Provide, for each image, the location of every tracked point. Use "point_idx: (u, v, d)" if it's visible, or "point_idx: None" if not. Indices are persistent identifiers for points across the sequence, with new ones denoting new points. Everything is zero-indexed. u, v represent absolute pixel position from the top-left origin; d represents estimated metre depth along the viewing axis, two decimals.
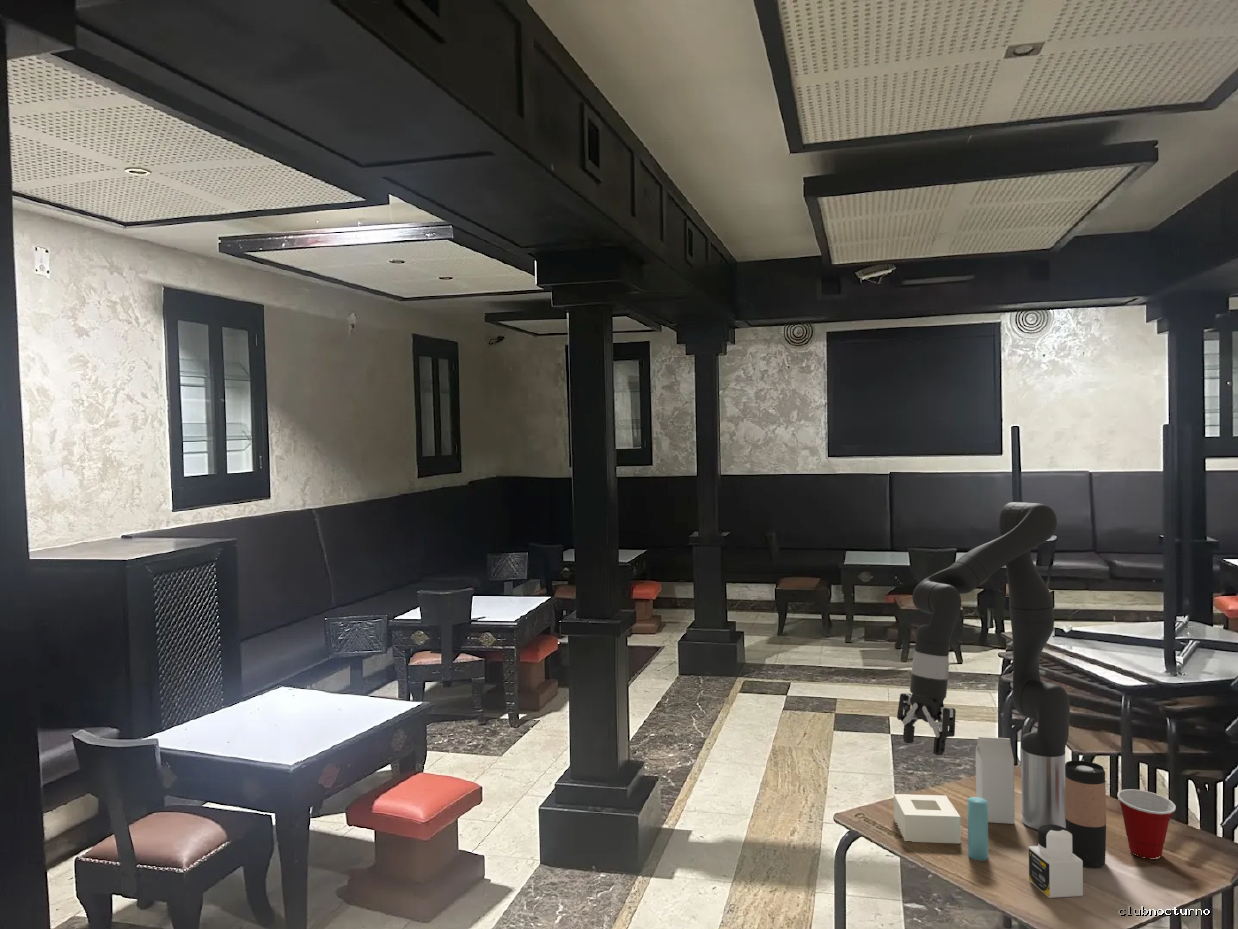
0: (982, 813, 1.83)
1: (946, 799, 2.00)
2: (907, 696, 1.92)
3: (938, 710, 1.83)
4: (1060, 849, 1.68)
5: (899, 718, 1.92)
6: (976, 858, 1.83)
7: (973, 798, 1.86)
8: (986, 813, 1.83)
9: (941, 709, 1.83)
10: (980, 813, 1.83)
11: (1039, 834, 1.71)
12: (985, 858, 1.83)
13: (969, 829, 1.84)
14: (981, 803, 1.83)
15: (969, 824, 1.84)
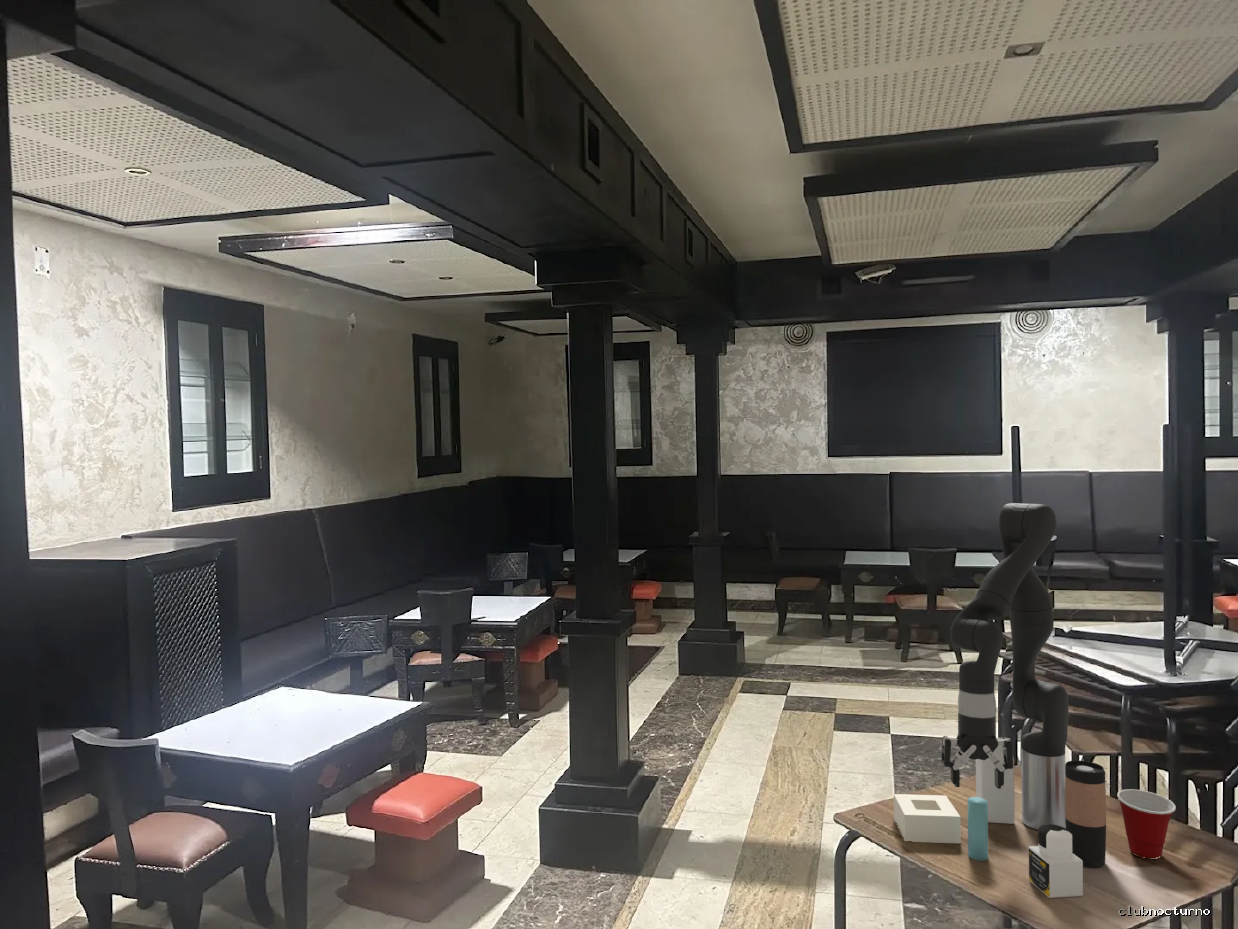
0: (982, 813, 1.83)
1: (946, 799, 2.00)
2: (951, 740, 1.85)
3: (997, 745, 1.83)
4: (1060, 849, 1.68)
5: (947, 765, 1.84)
6: (976, 858, 1.83)
7: (973, 798, 1.86)
8: (986, 813, 1.83)
9: (999, 743, 1.84)
10: (980, 813, 1.83)
11: (1039, 834, 1.71)
12: (985, 858, 1.83)
13: (969, 829, 1.84)
14: (981, 803, 1.83)
15: (969, 824, 1.84)
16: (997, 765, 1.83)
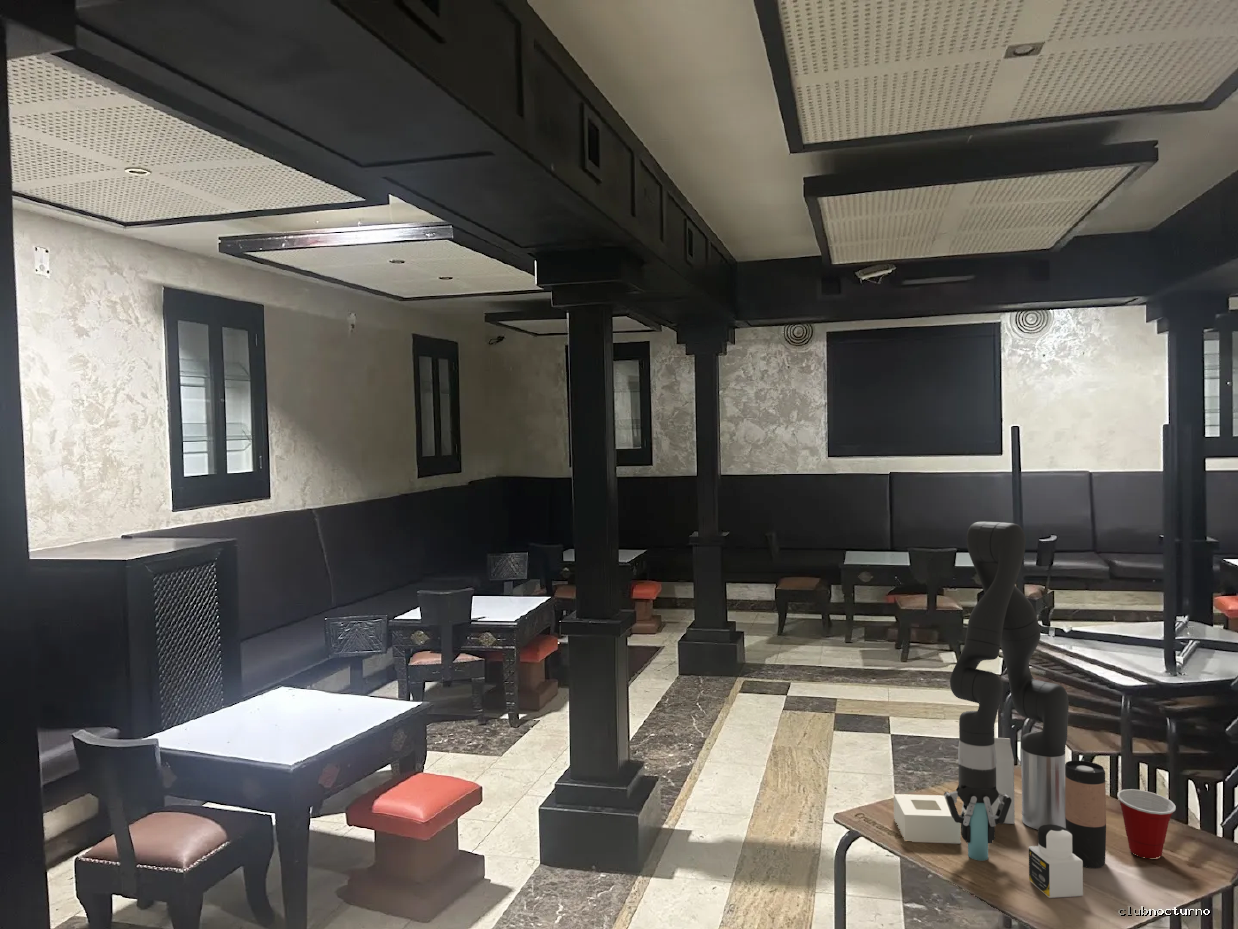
0: (982, 813, 1.83)
1: None
2: (952, 795, 1.85)
3: (997, 797, 1.83)
4: (1060, 849, 1.68)
5: (958, 821, 1.84)
6: (976, 858, 1.83)
7: None
8: (986, 813, 1.83)
9: (999, 796, 1.84)
10: (980, 813, 1.83)
11: (1039, 834, 1.71)
12: (985, 858, 1.83)
13: None
14: (981, 803, 1.83)
15: (969, 824, 1.84)
16: (990, 819, 1.83)
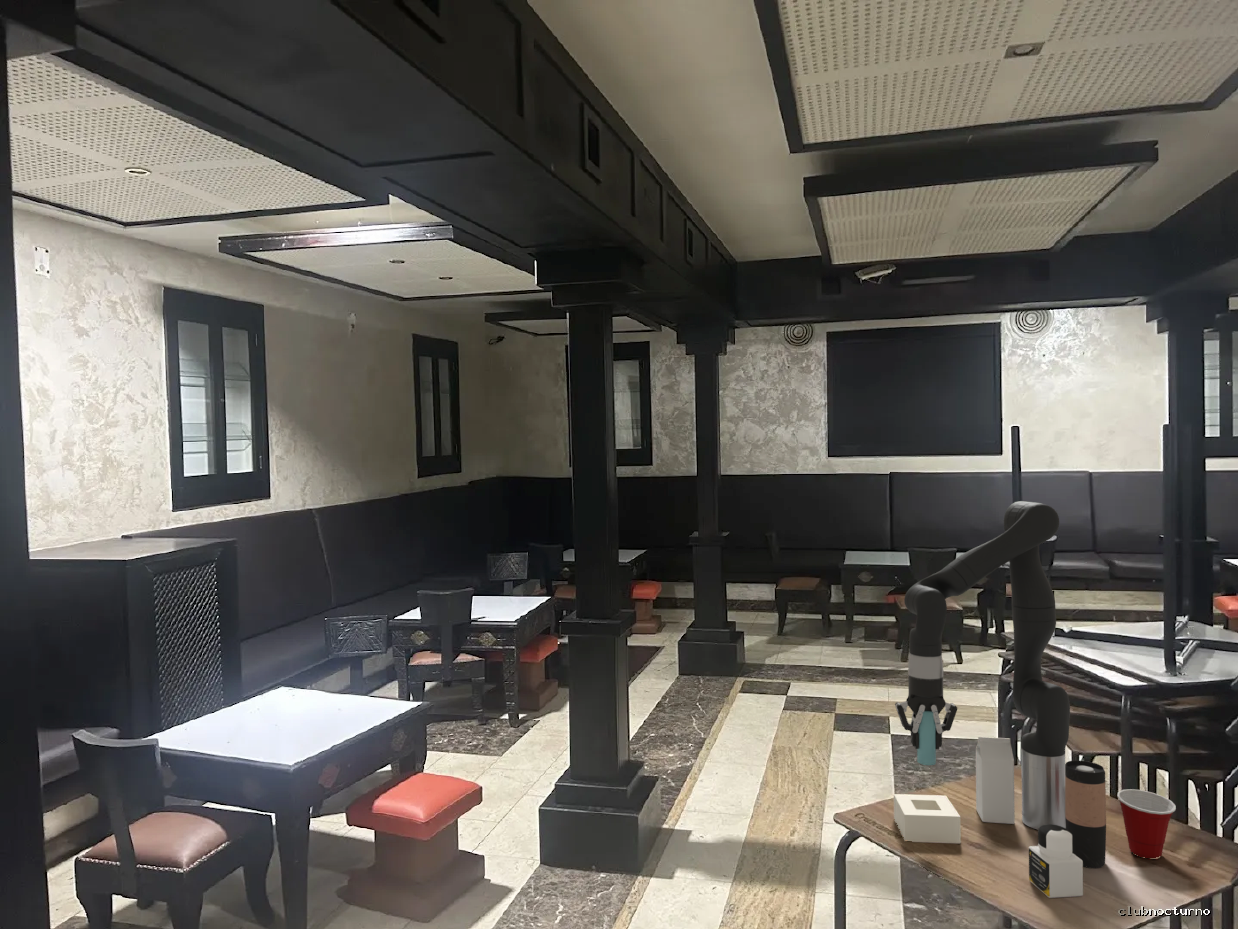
0: (930, 720, 1.95)
1: (946, 799, 2.00)
2: (902, 704, 1.97)
3: (944, 706, 1.96)
4: (1060, 849, 1.68)
5: (907, 728, 1.96)
6: (924, 763, 1.95)
7: None
8: (934, 721, 1.95)
9: (946, 705, 1.96)
10: (928, 720, 1.95)
11: (1039, 834, 1.71)
12: (933, 763, 1.95)
13: None
14: (929, 711, 1.95)
15: (918, 732, 1.96)
16: (937, 726, 1.96)
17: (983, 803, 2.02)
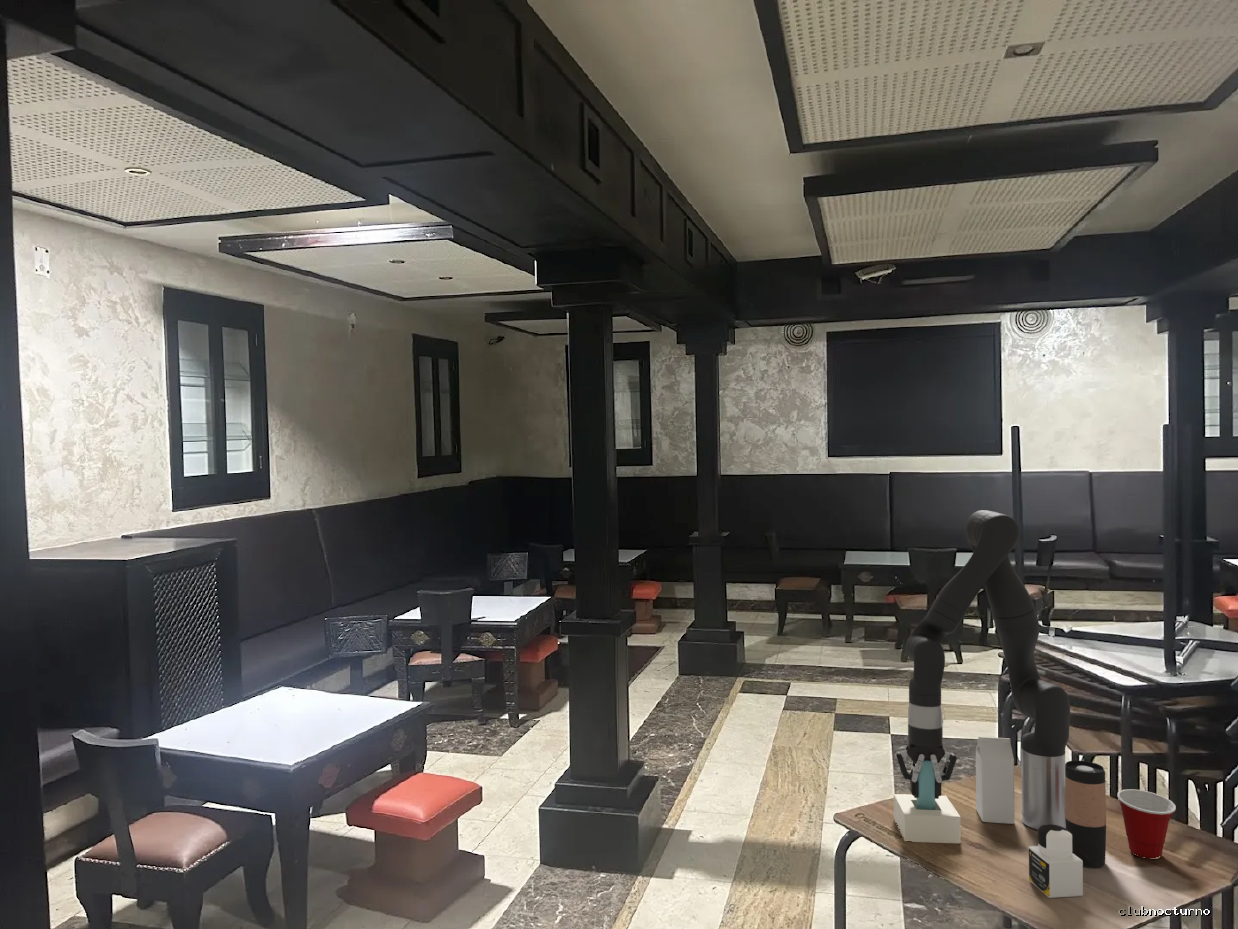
0: (929, 770, 1.95)
1: (946, 799, 2.00)
2: (901, 753, 1.97)
3: (943, 755, 1.96)
4: (1060, 849, 1.68)
5: (907, 777, 1.97)
6: None
7: None
8: (933, 770, 1.96)
9: (945, 754, 1.96)
10: (927, 770, 1.95)
11: (1039, 834, 1.71)
12: None
13: None
14: (928, 761, 1.96)
15: (917, 781, 1.97)
16: (936, 776, 1.96)
17: (983, 803, 2.02)
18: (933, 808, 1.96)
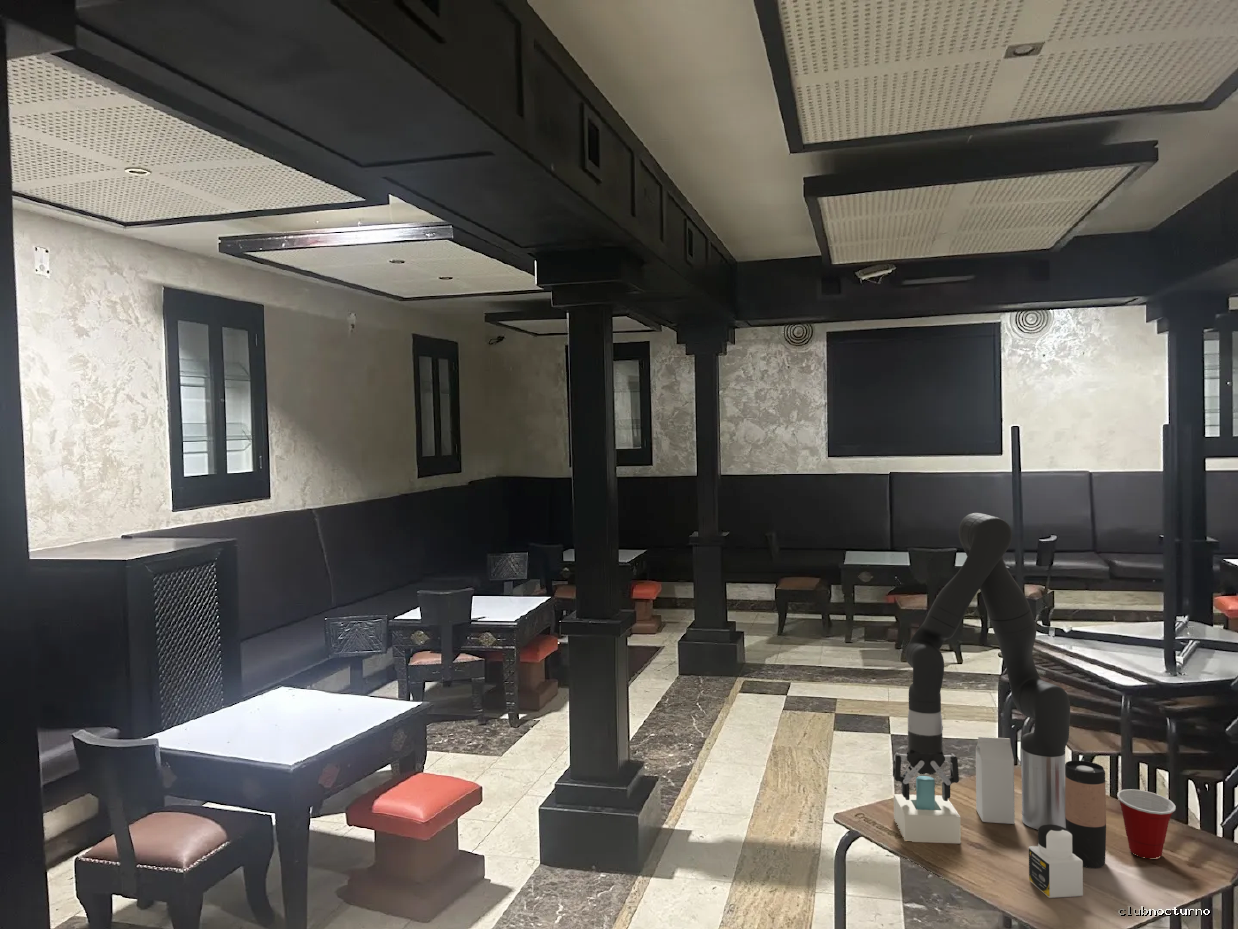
0: (929, 790, 1.95)
1: None
2: (901, 756, 1.98)
3: (944, 760, 1.96)
4: (1060, 849, 1.68)
5: (898, 779, 1.97)
6: None
7: (921, 777, 1.99)
8: (933, 790, 1.96)
9: (946, 758, 1.97)
10: (927, 790, 1.95)
11: (1039, 834, 1.71)
12: None
13: (917, 805, 1.97)
14: (928, 781, 1.96)
15: (917, 801, 1.97)
16: (944, 779, 1.96)
17: (983, 803, 2.02)
18: None
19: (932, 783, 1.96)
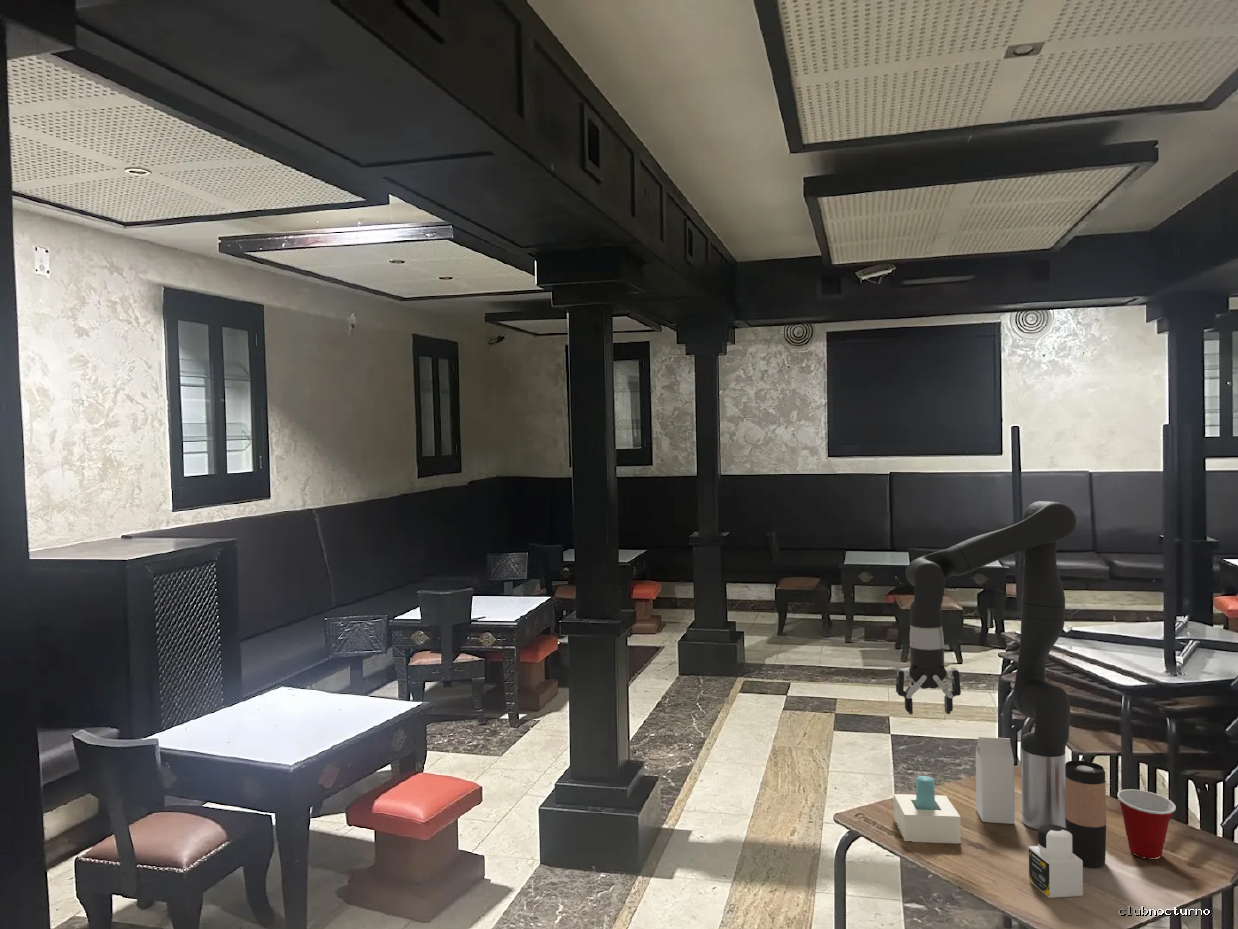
0: (929, 790, 1.95)
1: (946, 799, 2.00)
2: (904, 671, 2.02)
3: (946, 674, 2.01)
4: (1060, 849, 1.68)
5: (901, 694, 2.01)
6: None
7: (921, 777, 1.99)
8: (933, 790, 1.96)
9: (947, 672, 2.01)
10: (927, 790, 1.95)
11: (1039, 834, 1.71)
12: None
13: (917, 805, 1.97)
14: (928, 781, 1.96)
15: (917, 801, 1.97)
16: (946, 692, 2.00)
17: (983, 803, 2.02)
18: None
19: (932, 783, 1.96)
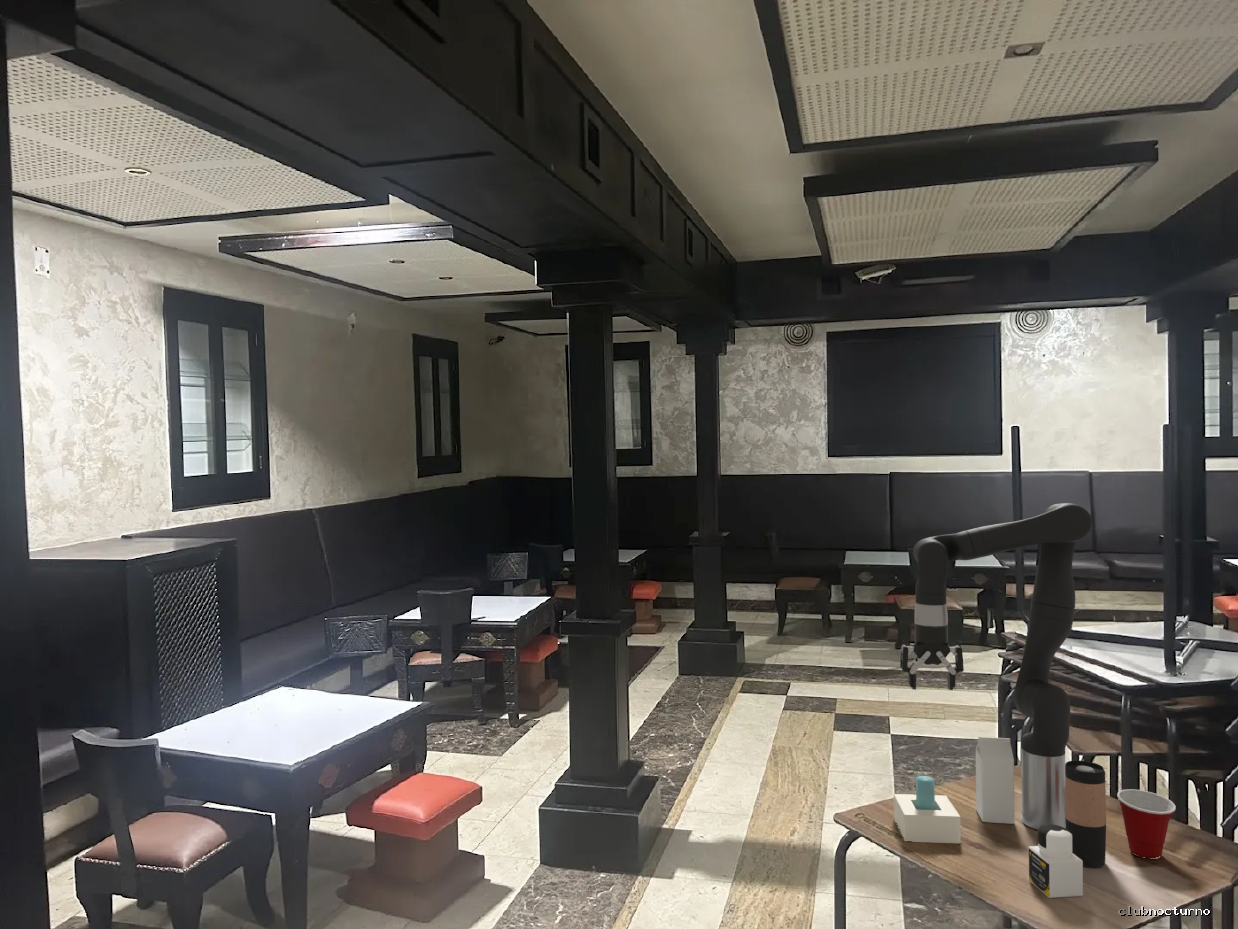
0: (929, 790, 1.95)
1: (946, 799, 2.00)
2: (908, 648, 2.07)
3: (949, 651, 2.06)
4: (1060, 849, 1.68)
5: (905, 670, 2.06)
6: None
7: (921, 777, 1.99)
8: (933, 790, 1.96)
9: (951, 649, 2.06)
10: (927, 790, 1.95)
11: (1039, 834, 1.71)
12: None
13: (917, 805, 1.97)
14: (928, 781, 1.96)
15: (917, 801, 1.97)
16: (949, 669, 2.05)
17: (983, 803, 2.02)
18: None
19: (932, 783, 1.96)
